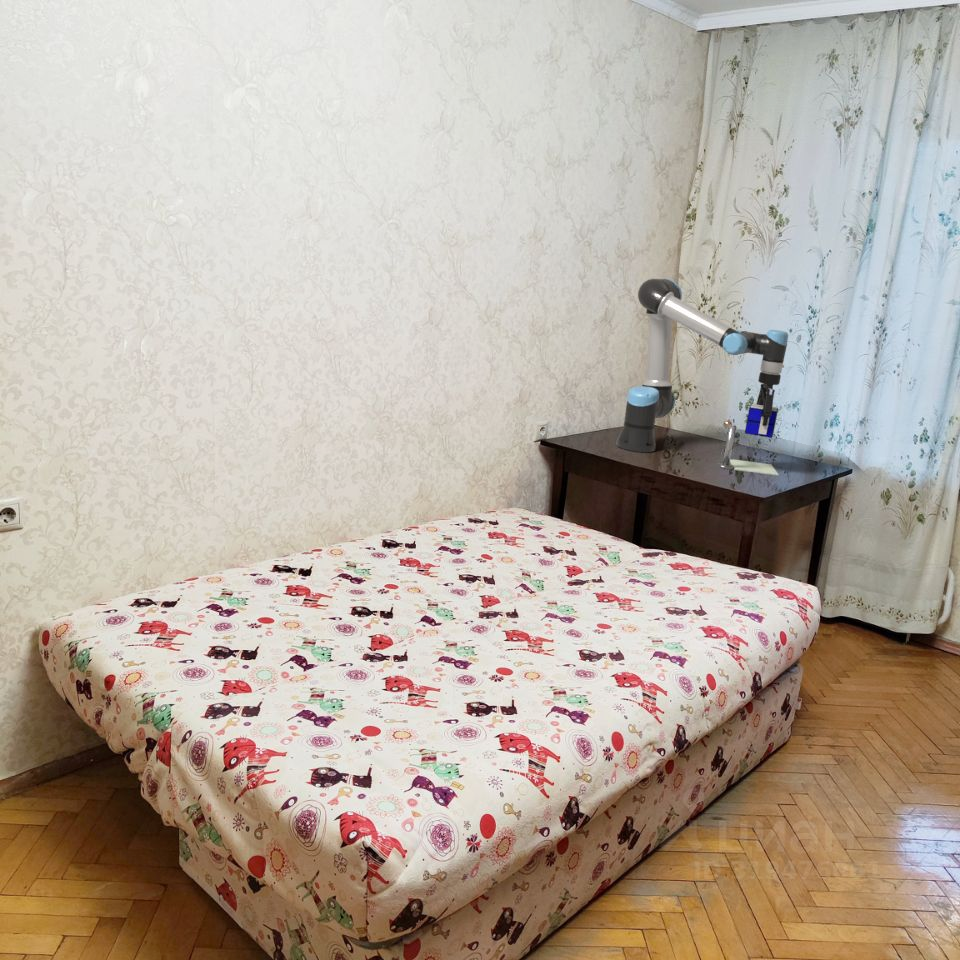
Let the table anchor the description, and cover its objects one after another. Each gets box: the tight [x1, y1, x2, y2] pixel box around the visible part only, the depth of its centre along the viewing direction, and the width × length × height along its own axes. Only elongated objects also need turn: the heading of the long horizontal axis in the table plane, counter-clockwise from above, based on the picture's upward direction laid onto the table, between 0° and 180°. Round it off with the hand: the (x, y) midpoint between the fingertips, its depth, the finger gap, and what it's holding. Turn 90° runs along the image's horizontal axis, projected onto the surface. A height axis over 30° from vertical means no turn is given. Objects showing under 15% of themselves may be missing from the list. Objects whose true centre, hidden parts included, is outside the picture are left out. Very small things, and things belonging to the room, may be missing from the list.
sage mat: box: [729, 458, 779, 477], centre depth 336 cm, size 16×16×1 cm
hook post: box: [716, 419, 737, 471], centre depth 335 cm, size 6×17×16 cm, turn 172°
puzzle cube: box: [744, 403, 779, 439], centre depth 333 cm, size 10×10×10 cm
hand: (759, 430), depth 334 cm, fingers closed on puzzle cube, 11 cm apart
